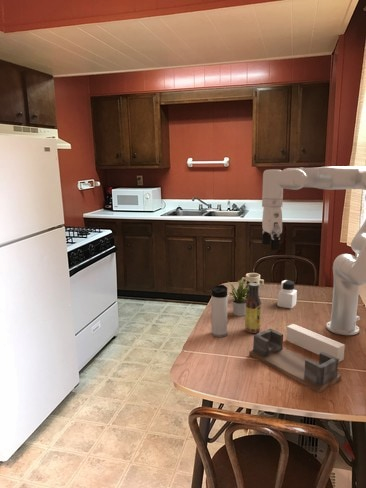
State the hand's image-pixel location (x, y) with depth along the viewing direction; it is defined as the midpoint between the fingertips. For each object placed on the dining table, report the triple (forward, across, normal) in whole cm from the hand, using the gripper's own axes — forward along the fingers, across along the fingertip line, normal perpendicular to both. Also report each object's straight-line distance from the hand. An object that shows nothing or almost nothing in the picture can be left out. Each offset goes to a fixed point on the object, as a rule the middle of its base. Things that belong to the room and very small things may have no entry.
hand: (270, 246), depth 152 cm
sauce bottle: (+36, +3, +5) cm, 36 cm away
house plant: (+36, +19, +5) cm, 41 cm away
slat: (+36, -16, -13) cm, 41 cm away
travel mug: (+36, +2, +19) cm, 41 cm away
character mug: (+36, +36, -5) cm, 51 cm away
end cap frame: (+36, -26, 0) cm, 45 cm away
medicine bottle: (+36, +27, -19) cm, 49 cm away
